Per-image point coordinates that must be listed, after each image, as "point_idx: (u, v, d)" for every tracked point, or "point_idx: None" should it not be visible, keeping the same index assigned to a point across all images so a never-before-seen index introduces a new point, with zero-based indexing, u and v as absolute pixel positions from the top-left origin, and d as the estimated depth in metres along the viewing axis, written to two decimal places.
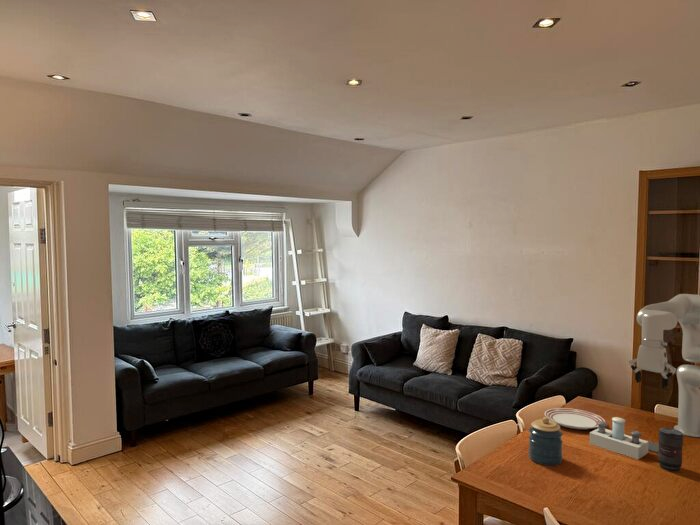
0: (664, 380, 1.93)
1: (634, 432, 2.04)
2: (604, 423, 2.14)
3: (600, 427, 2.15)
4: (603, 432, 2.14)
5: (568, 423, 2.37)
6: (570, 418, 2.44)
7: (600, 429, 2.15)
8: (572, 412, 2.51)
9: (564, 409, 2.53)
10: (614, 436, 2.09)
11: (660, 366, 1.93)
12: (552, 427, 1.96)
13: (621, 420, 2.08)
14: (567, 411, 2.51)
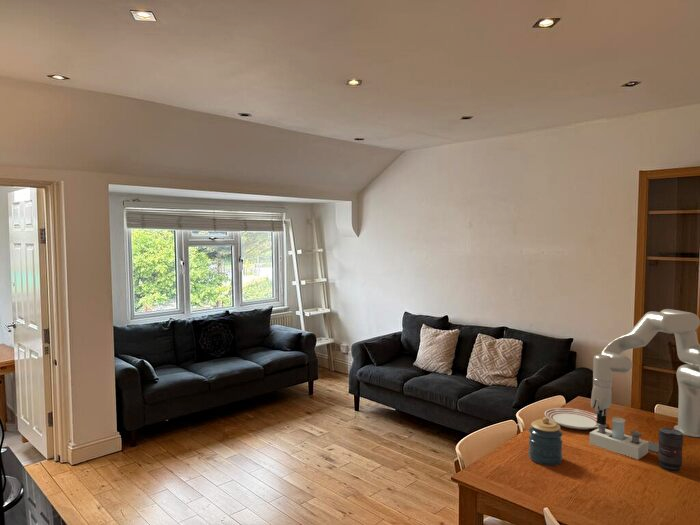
0: None
1: (634, 432, 2.04)
2: None
3: (600, 428, 2.15)
4: (603, 433, 2.14)
5: (568, 423, 2.37)
6: (570, 418, 2.44)
7: (600, 430, 2.15)
8: (572, 412, 2.51)
9: (564, 409, 2.53)
10: (614, 436, 2.09)
11: (610, 401, 2.16)
12: (552, 427, 1.96)
13: (621, 420, 2.08)
14: (567, 411, 2.51)
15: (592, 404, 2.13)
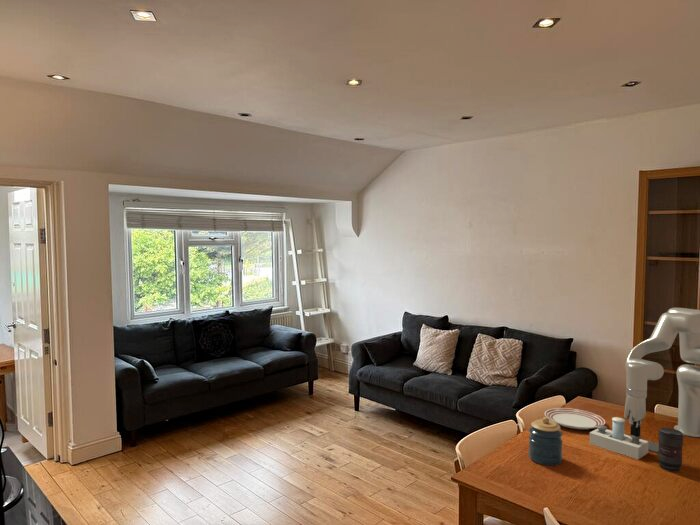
0: None
1: None
2: (604, 427, 2.15)
3: (600, 431, 2.15)
4: None
5: (568, 423, 2.37)
6: (570, 418, 2.44)
7: None
8: (572, 412, 2.51)
9: (564, 409, 2.53)
10: (614, 436, 2.09)
11: (645, 411, 2.04)
12: (552, 427, 1.96)
13: (621, 420, 2.08)
14: (567, 411, 2.51)
15: (626, 415, 2.02)
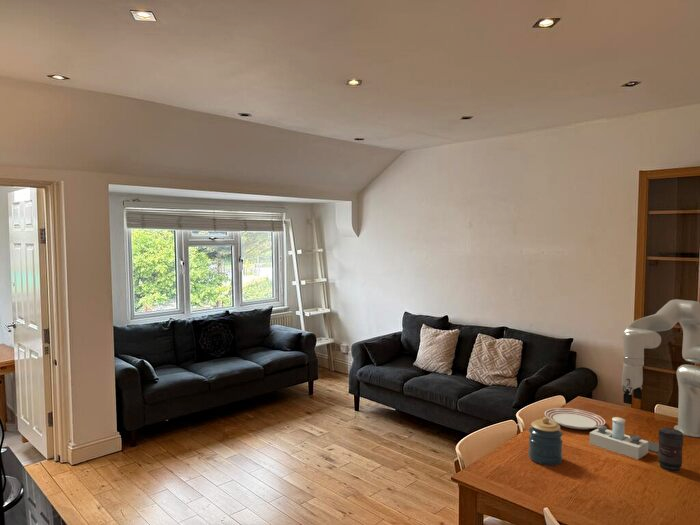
0: None
1: (634, 436, 2.04)
2: (604, 427, 2.15)
3: (600, 431, 2.15)
4: None
5: (568, 423, 2.37)
6: (570, 418, 2.44)
7: None
8: (572, 412, 2.51)
9: (564, 409, 2.53)
10: (614, 436, 2.09)
11: (642, 379, 2.05)
12: (552, 427, 1.96)
13: (621, 420, 2.08)
14: (567, 411, 2.51)
15: (623, 383, 2.03)
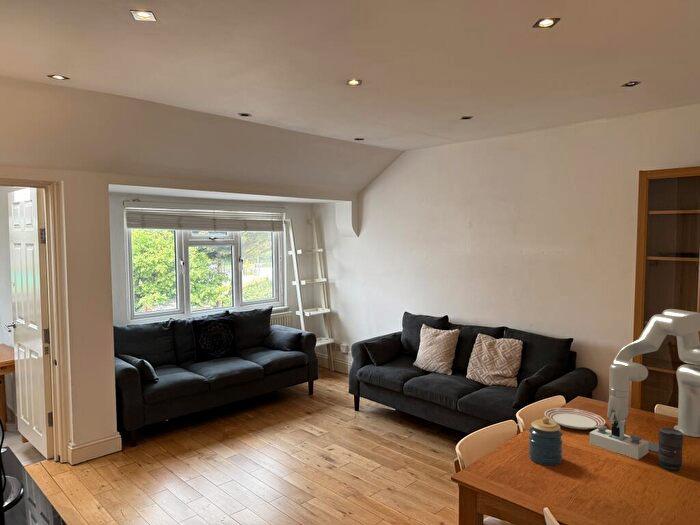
0: None
1: (634, 436, 2.04)
2: (604, 427, 2.15)
3: (600, 431, 2.15)
4: None
5: (568, 423, 2.37)
6: (570, 418, 2.44)
7: None
8: (572, 412, 2.51)
9: (564, 409, 2.53)
10: (614, 436, 2.09)
11: (627, 411, 2.10)
12: (552, 427, 1.96)
13: (621, 420, 2.08)
14: (567, 411, 2.51)
15: (609, 415, 2.08)
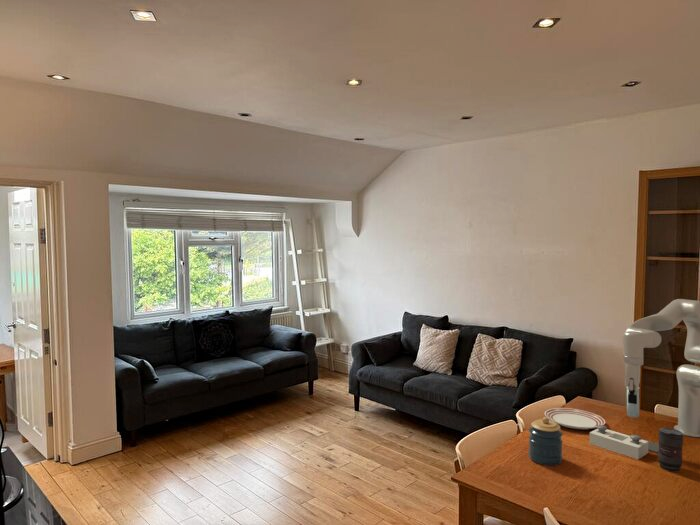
0: None
1: (634, 436, 2.04)
2: (604, 427, 2.15)
3: (600, 431, 2.15)
4: None
5: (568, 423, 2.37)
6: (570, 418, 2.44)
7: None
8: (572, 412, 2.51)
9: (564, 409, 2.53)
10: (630, 404, 2.09)
11: None
12: (552, 427, 1.96)
13: None
14: (567, 411, 2.51)
15: (627, 383, 2.06)
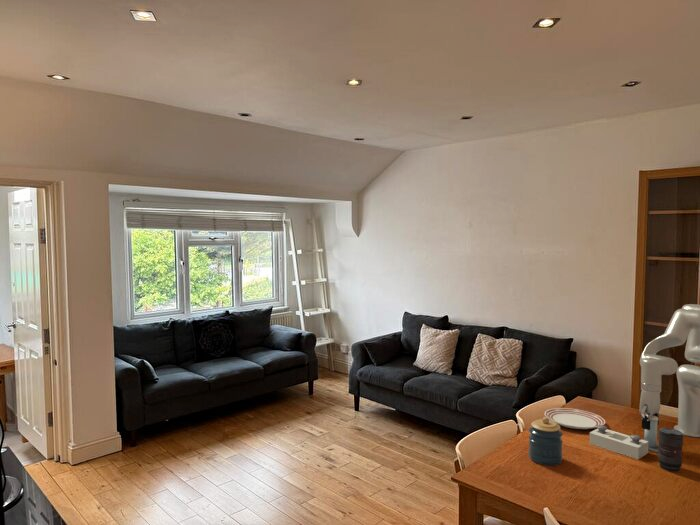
0: None
1: (634, 436, 2.04)
2: (604, 427, 2.15)
3: (600, 431, 2.15)
4: None
5: (568, 423, 2.37)
6: (570, 418, 2.44)
7: None
8: (572, 412, 2.51)
9: (564, 409, 2.53)
10: (646, 433, 2.10)
11: (659, 405, 2.11)
12: (552, 427, 1.96)
13: (654, 418, 2.09)
14: (567, 411, 2.51)
15: (641, 409, 2.09)
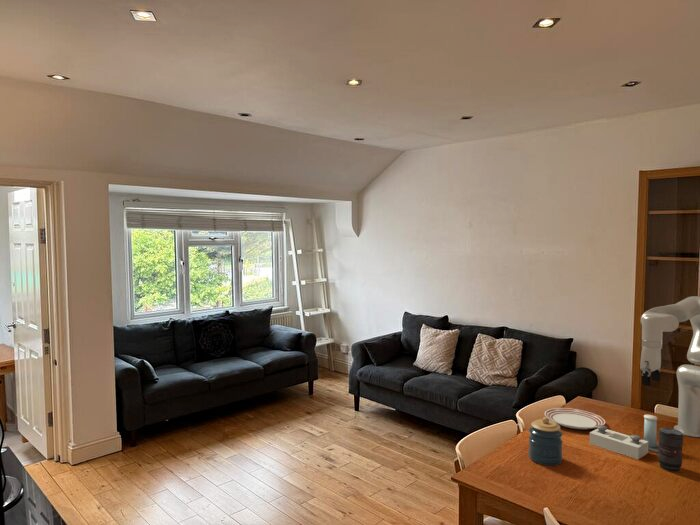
0: None
1: (634, 436, 2.04)
2: (604, 427, 2.15)
3: (600, 431, 2.15)
4: None
5: (568, 423, 2.37)
6: (570, 418, 2.44)
7: None
8: (573, 412, 2.51)
9: (564, 409, 2.53)
10: (646, 433, 2.10)
11: (660, 362, 2.10)
12: (552, 427, 1.96)
13: (653, 417, 2.09)
14: (567, 411, 2.51)
15: (642, 365, 2.08)
